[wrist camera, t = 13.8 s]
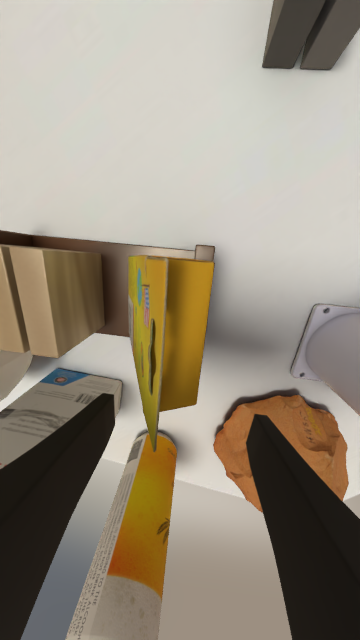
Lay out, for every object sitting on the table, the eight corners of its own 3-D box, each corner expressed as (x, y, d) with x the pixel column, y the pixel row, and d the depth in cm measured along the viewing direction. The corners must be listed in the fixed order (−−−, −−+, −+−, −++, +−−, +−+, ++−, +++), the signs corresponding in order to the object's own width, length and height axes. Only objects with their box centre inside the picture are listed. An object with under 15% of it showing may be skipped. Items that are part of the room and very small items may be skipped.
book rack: (212, 252, 16) (225, 247, 9) (199, 341, 19) (201, 390, 12) (26, 235, 17) (-96, 216, 10) (41, 322, 20) (-45, 356, 13)
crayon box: (158, 333, 18) (215, 441, 8) (128, 335, 17) (146, 461, 7) (162, 257, 16) (252, 263, 5) (127, 253, 15) (154, 254, 4)
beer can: (159, 465, 26) (115, 713, 12) (126, 443, 25) (35, 681, 11) (186, 445, 24) (172, 709, 10) (151, 421, 23) (81, 671, 9)
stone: (231, 368, 23) (300, 412, 13) (318, 391, 26) (425, 440, 16) (197, 480, 22) (240, 611, 13) (288, 489, 26) (379, 599, 16)
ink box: (58, 397, 23) (-67, 521, 12) (56, 366, 22) (-91, 476, 11) (120, 410, 23) (50, 549, 12) (123, 380, 22) (44, 508, 10)
